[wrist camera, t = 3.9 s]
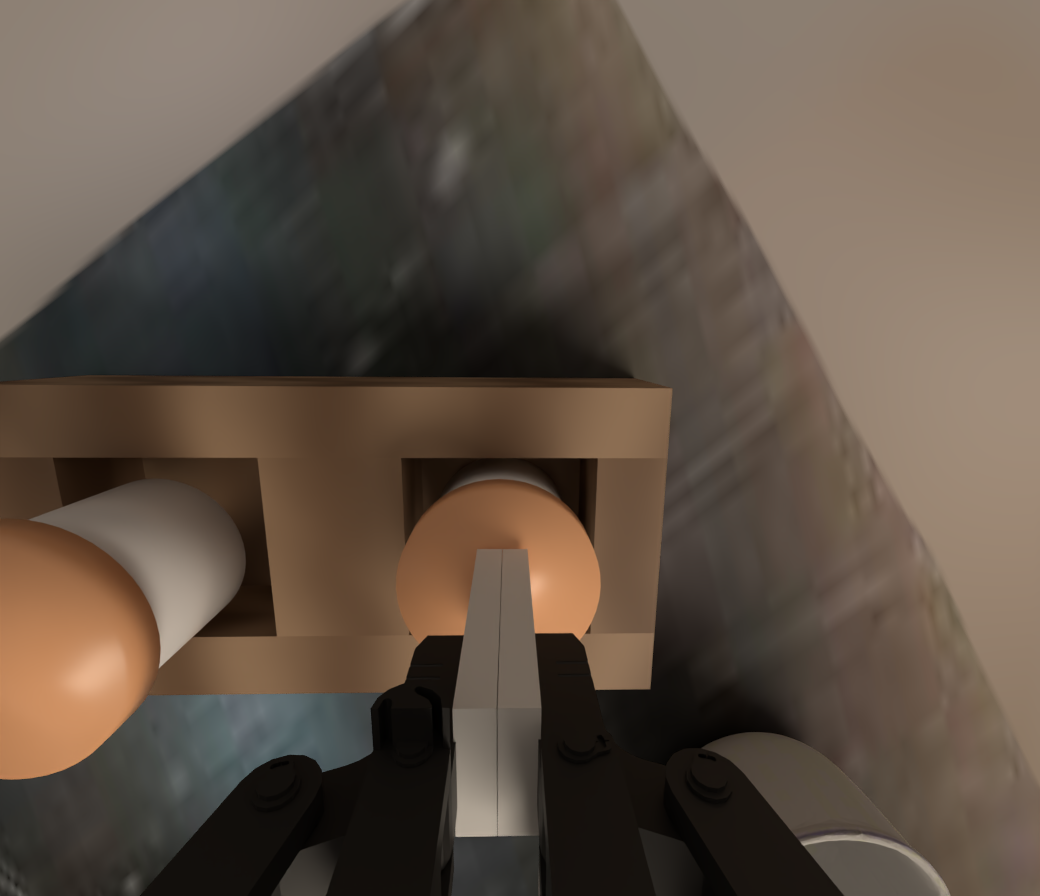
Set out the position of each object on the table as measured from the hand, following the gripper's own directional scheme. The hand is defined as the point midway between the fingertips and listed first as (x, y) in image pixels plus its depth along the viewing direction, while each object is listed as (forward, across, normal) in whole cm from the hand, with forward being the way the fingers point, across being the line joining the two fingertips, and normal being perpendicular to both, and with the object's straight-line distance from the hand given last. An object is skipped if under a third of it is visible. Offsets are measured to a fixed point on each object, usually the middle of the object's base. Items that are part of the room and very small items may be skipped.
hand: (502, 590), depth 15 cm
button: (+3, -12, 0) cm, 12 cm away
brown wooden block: (+8, -6, 0) cm, 10 cm away
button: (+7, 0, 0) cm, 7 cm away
